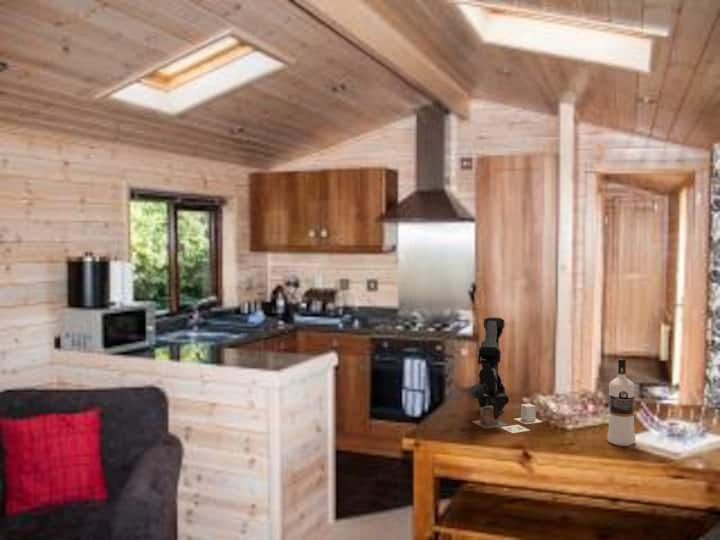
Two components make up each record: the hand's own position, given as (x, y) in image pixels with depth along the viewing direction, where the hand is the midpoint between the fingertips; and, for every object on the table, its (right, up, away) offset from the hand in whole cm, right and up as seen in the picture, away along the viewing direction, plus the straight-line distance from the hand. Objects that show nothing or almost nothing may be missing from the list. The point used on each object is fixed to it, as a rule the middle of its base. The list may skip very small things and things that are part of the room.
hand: (489, 416), depth 259 cm
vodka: (+42, -4, -24) cm, 49 cm away
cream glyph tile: (+8, -3, -7) cm, 12 cm away
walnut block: (0, -3, 0) cm, 3 cm away
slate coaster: (0, -3, 0) cm, 3 cm away
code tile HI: (+16, -3, +3) cm, 17 cm away
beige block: (+16, -2, +3) cm, 17 cm away
